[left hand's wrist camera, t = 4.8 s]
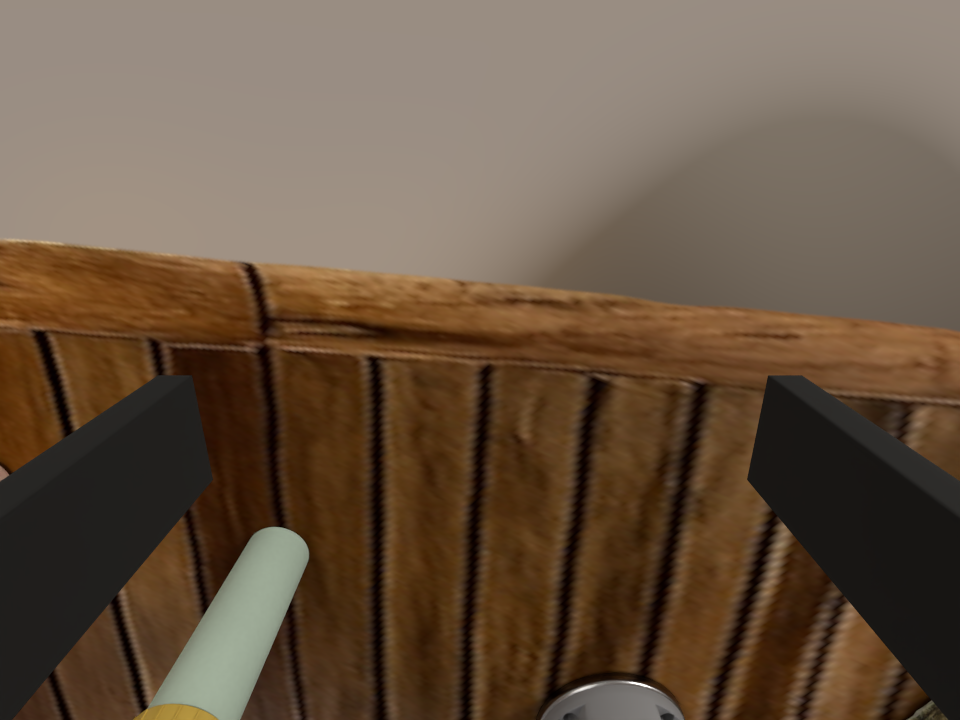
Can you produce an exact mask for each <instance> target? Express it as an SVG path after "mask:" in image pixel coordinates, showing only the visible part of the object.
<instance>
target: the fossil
mask: <svg viewBox="0 0 960 720" xmlns="http://www.w3.org/2000/svg"><path fill="white" fill-rule="evenodd" d="M907 720H948V719H947V718H946V717H945V716H944V714H943V713H942V712H941V711H940V710H939V708H938V707H937V706H936V705H935V704H934V702H933V701H932V700H931V701H930V702H929V703H927V704H926V705H925V706H923V707H922V708H920V709H919V710H917V711H916V712H915V714H914V716H912V717H911V718H909V719H907Z"/></svg>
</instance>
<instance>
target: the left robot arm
mask: <svg viewBox="0 0 960 720" xmlns="http://www.w3.org/2000/svg"><path fill="white" fill-rule="evenodd" d="M212 480H213V478H212V473H211V468H210V463H209V458H208V453H207V448H206V443H205V439H204V434H203V429H202V424H201V419H200V414H199V409H198V404H197V399H196V394H195V389H194V384H193V379H192V376H157V377H155V378H154V379H152V380H151V381H149V382H148V383H146V384H145V385H143V386H142V387H140V388H139V389H137V390H136V391H134V392H133V393H131V394H130V395H128V396H127V397H125V398H124V399H122V400H121V401H119V402H118V403H116V404H115V405H113V406H112V407H110V408H109V409H107V410H106V411H104V412H103V413H101V414H100V415H98V416H97V417H95V418H94V419H93V420H91V421H90V422H88V423H87V424H85V425H84V426H82V427H81V428H79V429H78V430H76V431H75V432H73V433H72V434H70V435H69V436H67V437H66V438H64V439H63V440H61V441H60V442H58V443H57V444H55V445H54V446H52V447H51V448H49V449H48V450H46V451H45V452H43V453H42V454H40V455H39V456H37V457H36V458H34V459H33V460H31V461H30V462H28V463H27V464H25V465H24V466H22V467H21V468H19V469H18V470H16V471H15V472H13V473H12V474H10V475H9V476H7V477H6V478H4V479H3V480H1V481H0V720H12V719H13V718H14V717H15V716H16V714H17V713H18V712H19V711H20V710H21V708H22V707H23V706H24V705H25V704H26V702H27V701H28V700H29V699H30V698H31V696H32V695H33V694H34V693H35V692H36V690H37V689H38V688H39V687H40V686H41V684H42V683H43V682H44V681H45V680H46V678H47V677H48V676H49V675H50V674H51V672H52V671H53V670H54V669H55V668H56V666H57V665H58V664H59V663H60V662H61V661H62V659H63V658H64V657H65V656H66V655H67V653H68V652H69V651H70V650H71V649H72V647H73V646H74V645H75V644H76V643H77V641H78V640H79V639H80V638H81V637H82V635H83V634H84V633H85V632H86V631H87V629H88V628H89V627H90V626H91V625H92V623H93V622H94V621H95V620H96V619H97V617H98V616H99V615H100V614H101V613H102V612H103V610H104V609H105V608H106V607H107V606H108V604H109V603H110V602H111V601H112V600H113V598H114V597H115V596H116V595H117V594H118V592H119V591H120V590H121V589H122V588H123V586H124V585H125V584H126V583H127V582H128V580H129V579H130V578H131V577H132V576H133V574H134V573H135V572H136V571H137V570H138V568H139V567H140V566H141V565H142V564H143V562H144V561H145V560H146V559H147V558H148V557H149V555H150V554H151V553H152V552H153V551H154V549H155V548H156V547H157V546H158V545H159V543H160V542H161V541H162V540H163V539H164V537H165V536H166V535H167V534H168V533H169V531H170V530H171V529H172V528H173V527H174V525H175V524H176V523H177V522H178V521H179V519H180V518H181V517H182V516H183V515H184V513H185V512H186V511H187V510H188V509H189V508H190V506H191V505H192V504H193V503H194V502H195V500H196V499H197V498H198V497H199V496H200V494H201V493H202V492H203V491H204V490H205V488H206V487H207V486H208V485H209V484H210V482H211V481H212ZM747 480H748V481H749V482H750V484H751V485H752V486H753V487H754V488H755V490H756V491H757V492H758V493H759V494H760V496H761V497H762V498H763V499H764V500H765V502H766V503H767V504H768V505H769V506H770V508H771V509H772V510H773V511H774V512H775V513H776V515H777V516H778V517H779V518H780V519H781V521H782V522H783V523H784V524H785V525H786V527H787V528H788V529H789V530H790V531H791V533H792V534H793V535H794V536H795V537H796V539H797V540H798V541H799V542H800V543H801V545H802V546H803V547H804V548H805V549H806V551H807V552H808V553H809V554H810V555H811V557H812V558H813V559H814V560H815V561H816V563H817V564H818V565H819V566H820V567H821V568H822V570H823V571H824V572H825V573H826V574H827V576H828V577H829V578H830V579H831V580H832V582H833V583H834V584H835V585H836V586H837V588H838V589H839V590H840V591H841V592H842V594H843V595H844V596H845V597H846V598H847V600H848V601H849V602H850V603H851V604H852V606H853V607H854V608H855V609H856V610H857V612H858V613H859V614H860V615H861V616H862V617H863V619H864V620H865V621H866V622H867V623H868V625H869V626H870V627H871V628H872V629H873V631H874V632H875V633H876V634H877V635H878V637H879V638H880V639H881V640H882V641H883V643H884V644H885V645H886V646H887V647H888V649H889V650H890V651H891V652H892V653H893V655H894V656H895V657H896V658H897V659H898V661H899V662H900V663H901V664H902V665H903V666H904V668H905V669H906V670H907V671H908V672H909V674H910V675H911V676H912V677H913V678H914V680H915V681H916V682H917V683H918V684H919V686H920V687H921V688H922V689H923V690H924V692H925V693H926V694H927V695H928V696H929V698H930V699H931V700H932V701H933V702H934V704H935V705H936V706H937V707H938V708H939V710H940V711H941V712H942V713H943V714H944V716H945V717H946V718H947V719H948V720H960V481H959V480H957V479H956V478H954V477H953V476H951V475H950V474H948V473H947V472H945V471H944V470H942V469H941V468H939V467H938V466H936V465H935V464H933V463H932V462H930V461H929V460H927V459H926V458H924V457H923V456H921V455H920V454H918V453H917V452H915V451H914V450H912V449H911V448H909V447H908V446H906V445H905V444H903V443H902V442H900V441H899V440H897V439H896V438H894V437H893V436H891V435H890V434H888V433H887V432H885V431H884V430H882V429H881V428H879V427H878V426H876V425H875V424H873V423H872V422H870V421H869V420H867V419H866V418H865V417H863V416H862V415H860V414H859V413H857V412H856V411H854V410H853V409H851V408H850V407H848V406H847V405H845V404H844V403H842V402H841V401H839V400H838V399H836V398H835V397H833V396H832V395H830V394H829V393H827V392H826V391H824V390H823V389H821V388H820V387H818V386H817V385H815V384H814V383H812V382H811V381H809V380H808V379H806V378H805V377H803V376H768V379H767V384H766V389H765V394H764V399H763V404H762V409H761V414H760V419H759V424H758V429H757V434H756V438H755V443H754V448H753V453H752V458H751V463H750V468H749V473H748V478H747ZM536 720H685V719H684V716H683V713H682V710H681V708H680V705H679V703H678V701H677V700H676V698H675V697H674V696H673V695H672V693H671V692H669V691H668V690H667V689H666V688H665V687H663V686H662V685H660V684H659V683H657V682H655V681H653V680H651V679H648V678H645V677H642V676H638V675H633V674H626V673H603V674H596V675H591V676H587V677H584V678H581V679H578V680H576V681H573V682H571V683H569V684H567V685H565V686H564V687H562V688H560V689H559V690H557V691H556V692H555V693H554V694H553V695H551V696H550V697H549V698H548V699H547V701H546V702H545V703H544V704H543V706H542V707H541V709H540V711H539V713H538V715H537V719H536Z"/></svg>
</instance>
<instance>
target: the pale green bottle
mask: <svg viewBox="0 0 960 720" xmlns="http://www.w3.org/2000/svg"><path fill="white" fill-rule="evenodd" d="M308 559H309V551H308V547H307V545H306V543H305V542H304V540H303V539H302V538H301V537H300V536H299V535H297V534H296V533H294V532H293V531H291V530H288V529H285V528H281V527H269V528H265V529H262V530H260V531H258V532H256V533H255V534H254V535H253V536H252V537H251V539H250V540H249V542H248V544H247V545H246V547H245V549H244V550H243V552H242V553H241V555H240V557H239V558H238V560H237V562H236V563H235V565H234V567H233V568H232V570H231V572H230V573H229V575H228V577H227V578H226V580H225V582H224V583H223V585H222V586H221V588H220V590H219V591H218V593H217V595H216V596H215V598H214V600H213V601H212V603H211V605H210V606H209V608H208V610H207V611H206V613H205V614H204V616H203V618H202V619H201V621H200V623H199V624H198V626H197V628H196V629H195V631H194V633H193V634H192V636H191V638H190V639H189V641H188V643H187V644H186V646H185V647H184V649H183V651H182V652H181V654H180V656H179V657H178V659H177V661H176V662H175V664H174V666H173V667H172V669H171V671H170V672H169V674H168V675H167V677H166V679H165V680H164V682H163V684H162V685H161V687H160V689H159V690H158V692H157V694H156V695H155V697H154V699H153V700H152V702H151V704H150V705H149V707H148V708H147V709H149V708H151V707H154V706H157V705H163V704H183V705H189V706H193V707H196V708H199V709H202V710H204V711H206V712H208V713H210V714H212V715H213V716H215V717H216V718H217V719H219V720H240V719H241V716H242V714H243V712H244V709H245V707H246V705H247V702H248V700H249V698H250V695H251V693H252V691H253V688H254V686H255V684H256V681H257V679H258V677H259V674H260V672H261V670H262V667H263V665H264V663H265V660H266V658H267V656H268V653H269V651H270V649H271V646H272V644H273V642H274V639H275V637H276V635H277V632H278V630H279V628H280V625H281V623H282V621H283V618H284V616H285V614H286V611H287V609H288V607H289V604H290V602H291V600H292V597H293V595H294V593H295V590H296V588H297V586H298V583H299V581H300V579H301V576H302V574H303V572H304V569H305V567H306V565H307V562H308Z"/></svg>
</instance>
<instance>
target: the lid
mask: <svg viewBox="0 0 960 720" xmlns="http://www.w3.org/2000/svg"><path fill="white" fill-rule="evenodd" d="M134 720H219V719H217V718H216V717H215V716H213V715H212V714H210V713H208V712H206V711H204V710H202V709H199V708H196V707H193V706H189V705H183V704H163V705H157V706H154V707H151V708H149V709H146V710H145V711H143V712H142V713H141V714H140V715H138V716H137V717H135V718H134Z"/></svg>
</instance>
